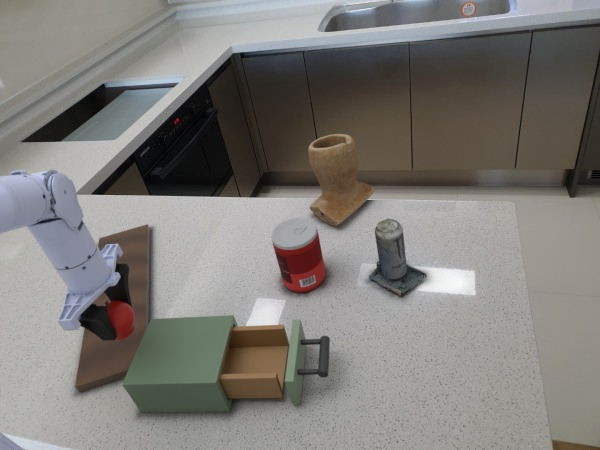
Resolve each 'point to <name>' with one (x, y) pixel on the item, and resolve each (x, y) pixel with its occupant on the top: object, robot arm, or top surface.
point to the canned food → (299, 254)
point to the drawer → (269, 361)
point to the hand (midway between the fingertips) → (117, 323)
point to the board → (119, 353)
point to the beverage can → (393, 259)
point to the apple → (121, 318)
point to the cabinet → (181, 365)
